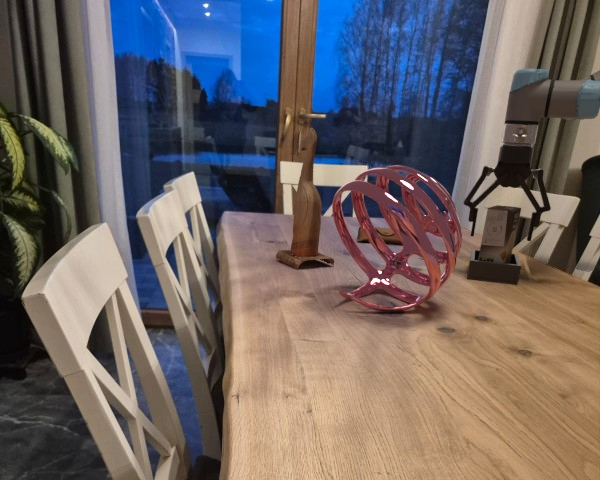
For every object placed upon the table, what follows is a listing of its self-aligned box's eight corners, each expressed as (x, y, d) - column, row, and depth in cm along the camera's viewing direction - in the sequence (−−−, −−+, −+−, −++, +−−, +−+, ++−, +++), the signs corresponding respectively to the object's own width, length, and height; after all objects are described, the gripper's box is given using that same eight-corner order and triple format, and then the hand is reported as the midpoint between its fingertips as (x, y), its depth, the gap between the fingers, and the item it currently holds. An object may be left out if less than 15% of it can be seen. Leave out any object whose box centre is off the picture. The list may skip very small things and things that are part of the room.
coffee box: (500, 278, 143) (514, 210, 136) (474, 273, 145) (486, 207, 138) (508, 271, 150) (522, 207, 143) (484, 267, 153) (496, 204, 146)
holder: (514, 271, 153) (518, 253, 151) (517, 284, 140) (521, 265, 138) (468, 266, 156) (471, 249, 154) (466, 278, 143) (470, 260, 141)
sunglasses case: (357, 240, 178) (358, 220, 178) (356, 248, 185) (358, 228, 185) (415, 245, 176) (417, 224, 177) (412, 252, 183) (414, 232, 184)
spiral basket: (330, 217, 94) (445, 120, 98) (273, 229, 119) (367, 151, 124) (414, 346, 105) (514, 254, 109) (345, 332, 130) (429, 258, 135)
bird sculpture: (309, 257, 156) (316, 127, 142) (335, 266, 148) (346, 129, 134) (274, 260, 151) (278, 125, 136) (299, 270, 142) (306, 127, 128)
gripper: (462, 142, 134) (448, 235, 143) (576, 148, 128) (554, 245, 137) (463, 142, 141) (450, 231, 150) (572, 147, 135) (551, 239, 144)
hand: (500, 238), depth 144 cm, fingers open, 13 cm apart
